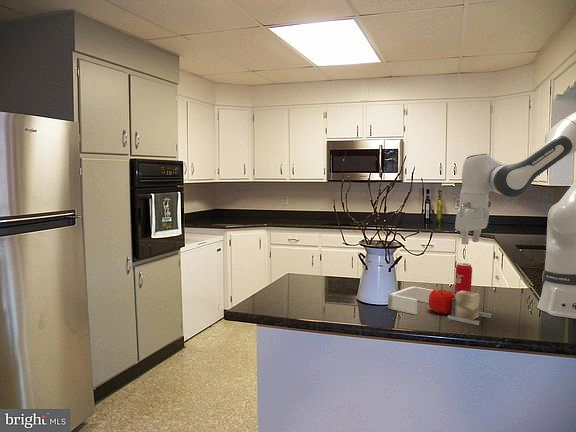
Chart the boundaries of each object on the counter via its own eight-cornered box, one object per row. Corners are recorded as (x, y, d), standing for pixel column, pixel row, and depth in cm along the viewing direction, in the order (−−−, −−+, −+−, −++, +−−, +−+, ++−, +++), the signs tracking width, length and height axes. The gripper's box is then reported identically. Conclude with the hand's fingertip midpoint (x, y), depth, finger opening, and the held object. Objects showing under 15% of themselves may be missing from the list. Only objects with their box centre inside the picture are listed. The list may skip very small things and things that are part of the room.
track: (491, 317, 161) (491, 314, 161) (478, 325, 152) (478, 321, 152) (461, 311, 168) (461, 308, 167) (447, 318, 159) (447, 315, 158)
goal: (438, 304, 177) (438, 290, 176) (415, 314, 163) (415, 300, 162) (411, 298, 183) (412, 286, 183) (387, 308, 170) (388, 294, 169)
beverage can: (457, 290, 199) (459, 262, 198) (473, 293, 195) (474, 264, 194) (452, 293, 194) (453, 264, 193) (467, 295, 190) (469, 266, 189)
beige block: (479, 316, 161) (480, 293, 160) (471, 320, 156) (473, 296, 155) (459, 312, 166) (460, 289, 165) (451, 316, 160) (452, 292, 160)
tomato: (438, 307, 173) (439, 286, 172) (460, 313, 165) (461, 292, 165) (421, 311, 167) (422, 290, 167) (442, 317, 160) (443, 295, 159)
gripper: (471, 203, 151) (467, 247, 152) (493, 202, 166) (490, 241, 167) (451, 202, 155) (448, 244, 156) (475, 201, 170) (471, 239, 171)
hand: (470, 243), depth 162 cm, fingers open, 8 cm apart
